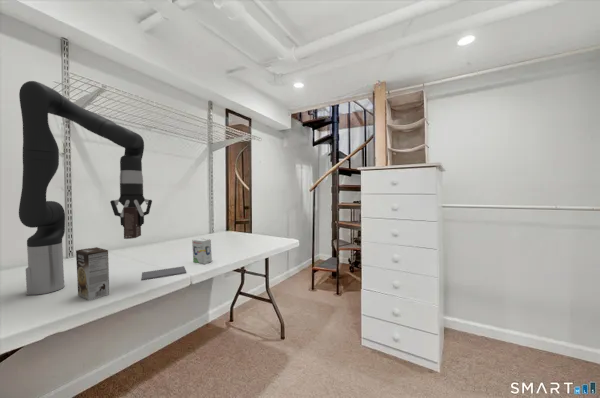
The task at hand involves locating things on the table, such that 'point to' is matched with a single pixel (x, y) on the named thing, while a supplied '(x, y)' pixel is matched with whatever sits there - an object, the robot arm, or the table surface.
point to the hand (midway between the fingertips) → (132, 225)
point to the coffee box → (92, 273)
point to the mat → (163, 273)
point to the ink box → (202, 250)
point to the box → (131, 223)
